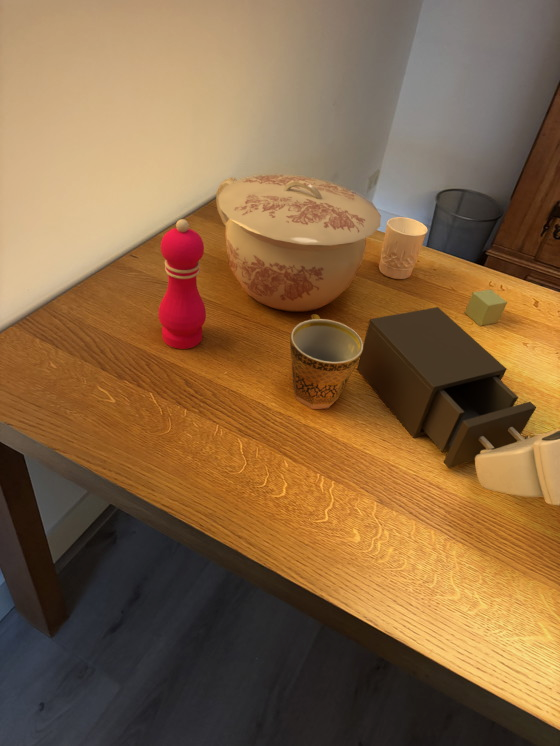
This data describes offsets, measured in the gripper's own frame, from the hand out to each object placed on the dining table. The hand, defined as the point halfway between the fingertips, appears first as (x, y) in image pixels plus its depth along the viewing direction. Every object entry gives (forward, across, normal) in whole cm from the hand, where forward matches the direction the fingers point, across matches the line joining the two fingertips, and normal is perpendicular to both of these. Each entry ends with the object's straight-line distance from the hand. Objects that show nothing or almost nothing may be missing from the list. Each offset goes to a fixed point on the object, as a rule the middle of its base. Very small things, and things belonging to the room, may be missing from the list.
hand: (507, 448), depth 68 cm
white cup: (+39, -18, -31) cm, 53 cm away
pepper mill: (+32, +30, -24) cm, 50 cm away
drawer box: (+16, 0, -8) cm, 18 cm away
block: (+26, -25, -18) cm, 40 cm away
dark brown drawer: (+8, 0, -2) cm, 9 cm away
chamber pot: (+39, +7, -31) cm, 50 cm away
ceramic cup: (+20, +15, -12) cm, 28 cm away
